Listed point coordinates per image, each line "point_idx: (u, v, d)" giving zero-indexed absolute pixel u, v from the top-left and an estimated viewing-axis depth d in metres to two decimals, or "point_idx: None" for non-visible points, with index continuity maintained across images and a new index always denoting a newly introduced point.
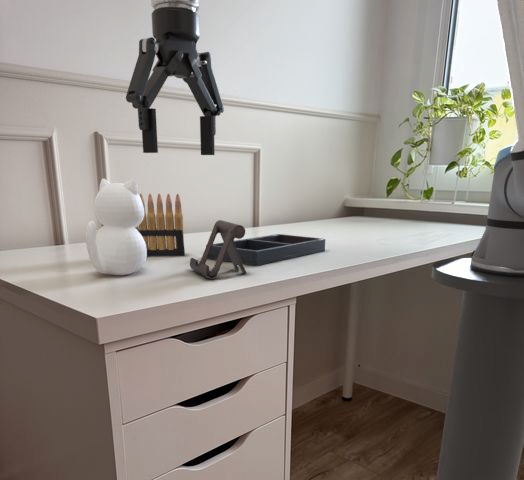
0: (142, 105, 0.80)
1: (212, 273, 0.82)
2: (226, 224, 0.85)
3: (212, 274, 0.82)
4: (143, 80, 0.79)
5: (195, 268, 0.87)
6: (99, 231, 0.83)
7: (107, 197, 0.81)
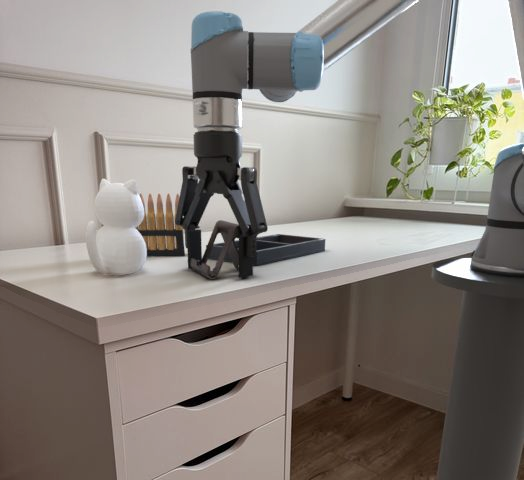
0: (256, 235, 0.81)
1: (213, 273, 0.82)
2: (227, 224, 0.84)
3: (213, 274, 0.82)
4: None
5: (196, 268, 0.86)
6: (99, 231, 0.83)
7: (107, 197, 0.81)
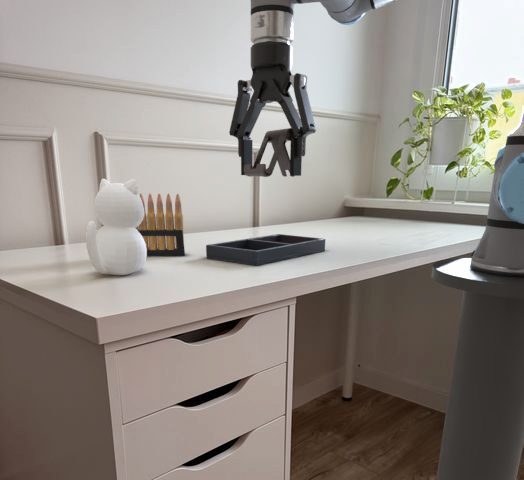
0: (306, 136, 0.93)
1: (268, 171, 0.94)
2: (278, 130, 0.96)
3: (268, 172, 0.94)
4: None
5: (250, 171, 0.98)
6: (99, 231, 0.83)
7: (107, 197, 0.81)
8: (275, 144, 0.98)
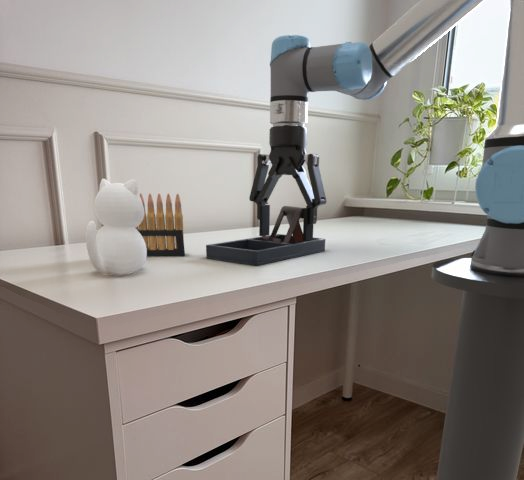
0: (317, 206, 1.05)
1: None
2: (293, 208, 1.09)
3: None
4: None
5: None
6: (99, 231, 0.83)
7: (107, 197, 0.81)
8: (290, 219, 1.11)
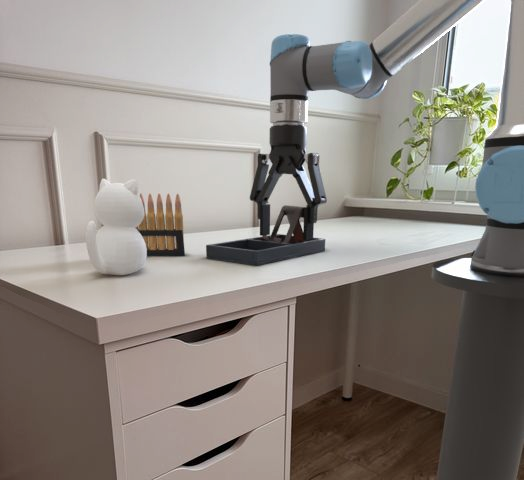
0: (317, 206, 1.05)
1: None
2: (293, 207, 1.09)
3: None
4: None
5: None
6: (99, 231, 0.83)
7: (107, 197, 0.81)
8: (290, 218, 1.11)
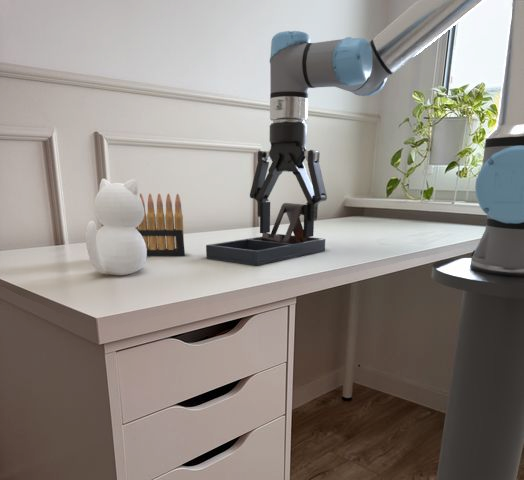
0: (318, 203, 1.05)
1: (284, 242, 1.06)
2: (293, 205, 1.08)
3: None
4: None
5: (268, 240, 1.10)
6: (99, 231, 0.83)
7: (107, 197, 0.81)
8: (290, 216, 1.11)
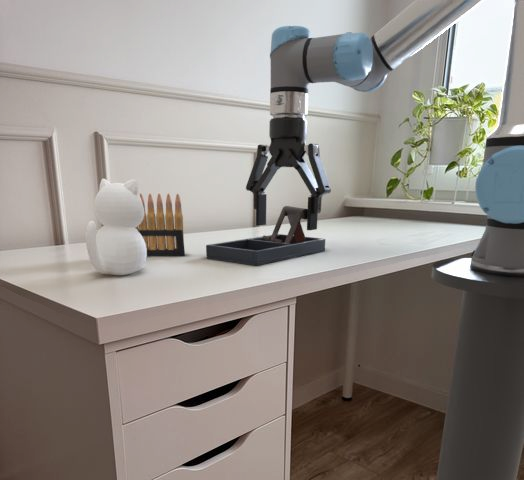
0: (322, 195, 1.04)
1: None
2: (294, 209, 1.08)
3: None
4: None
5: None
6: (99, 231, 0.83)
7: (107, 197, 0.81)
8: (291, 219, 1.11)
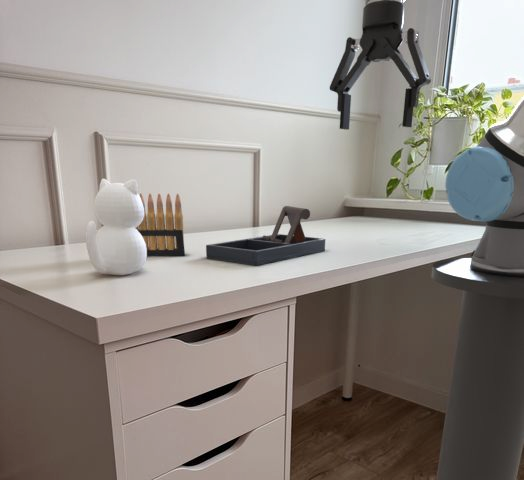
0: (420, 87, 0.97)
1: None
2: (294, 209, 1.08)
3: None
4: None
5: None
6: (99, 231, 0.83)
7: (107, 197, 0.81)
8: (291, 219, 1.11)
